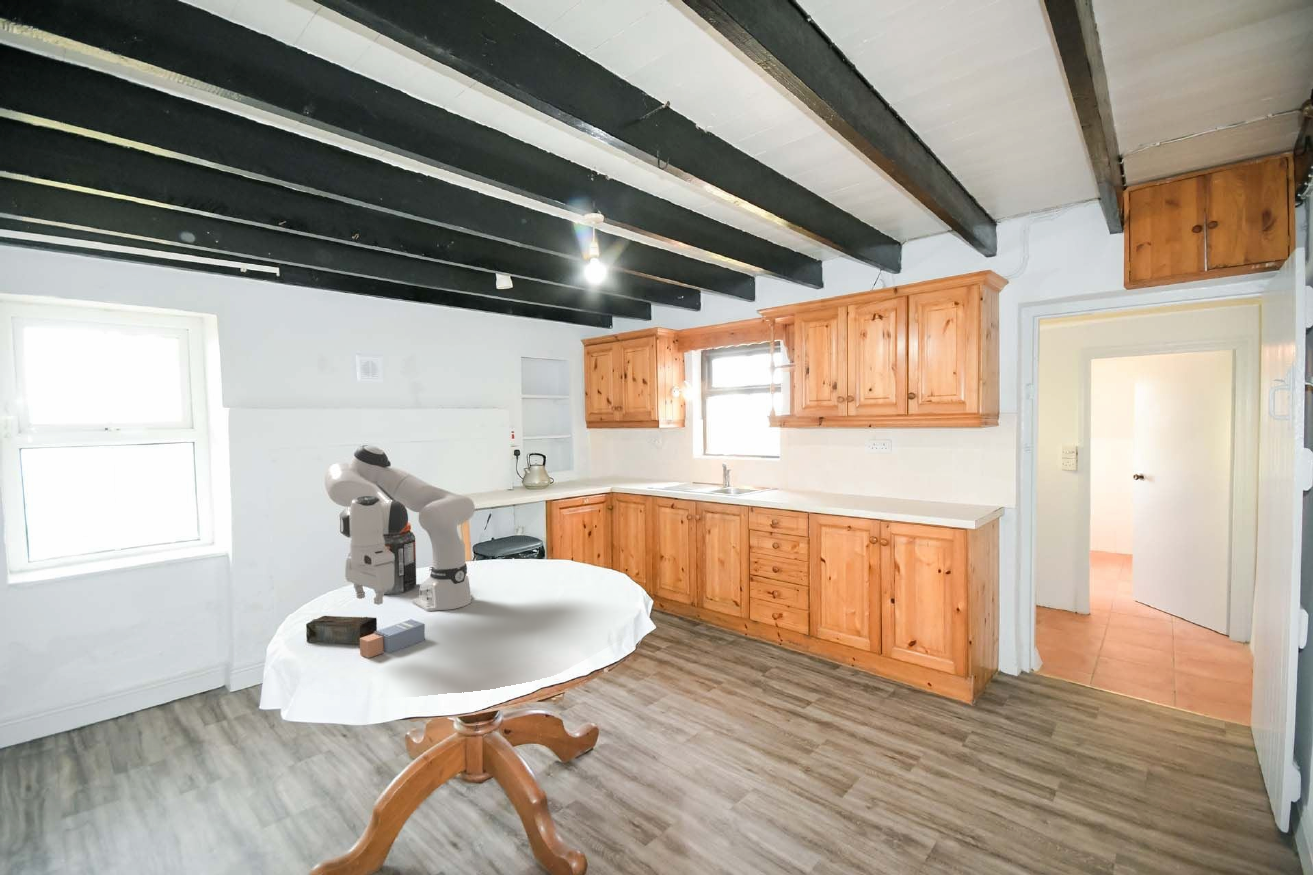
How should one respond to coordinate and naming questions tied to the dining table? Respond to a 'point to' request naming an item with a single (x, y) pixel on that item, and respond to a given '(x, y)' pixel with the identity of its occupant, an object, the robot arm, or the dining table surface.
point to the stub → (371, 645)
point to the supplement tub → (402, 559)
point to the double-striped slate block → (402, 635)
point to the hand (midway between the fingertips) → (369, 600)
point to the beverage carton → (340, 629)
